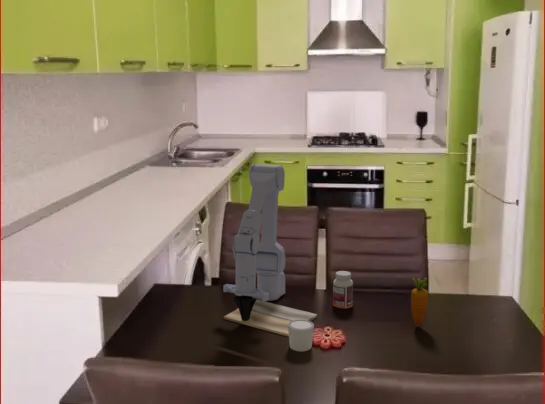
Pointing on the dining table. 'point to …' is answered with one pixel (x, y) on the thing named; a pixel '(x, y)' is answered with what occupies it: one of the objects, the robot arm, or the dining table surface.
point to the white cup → (300, 335)
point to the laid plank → (282, 311)
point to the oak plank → (261, 322)
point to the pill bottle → (343, 290)
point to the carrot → (419, 301)
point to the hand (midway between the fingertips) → (245, 319)
